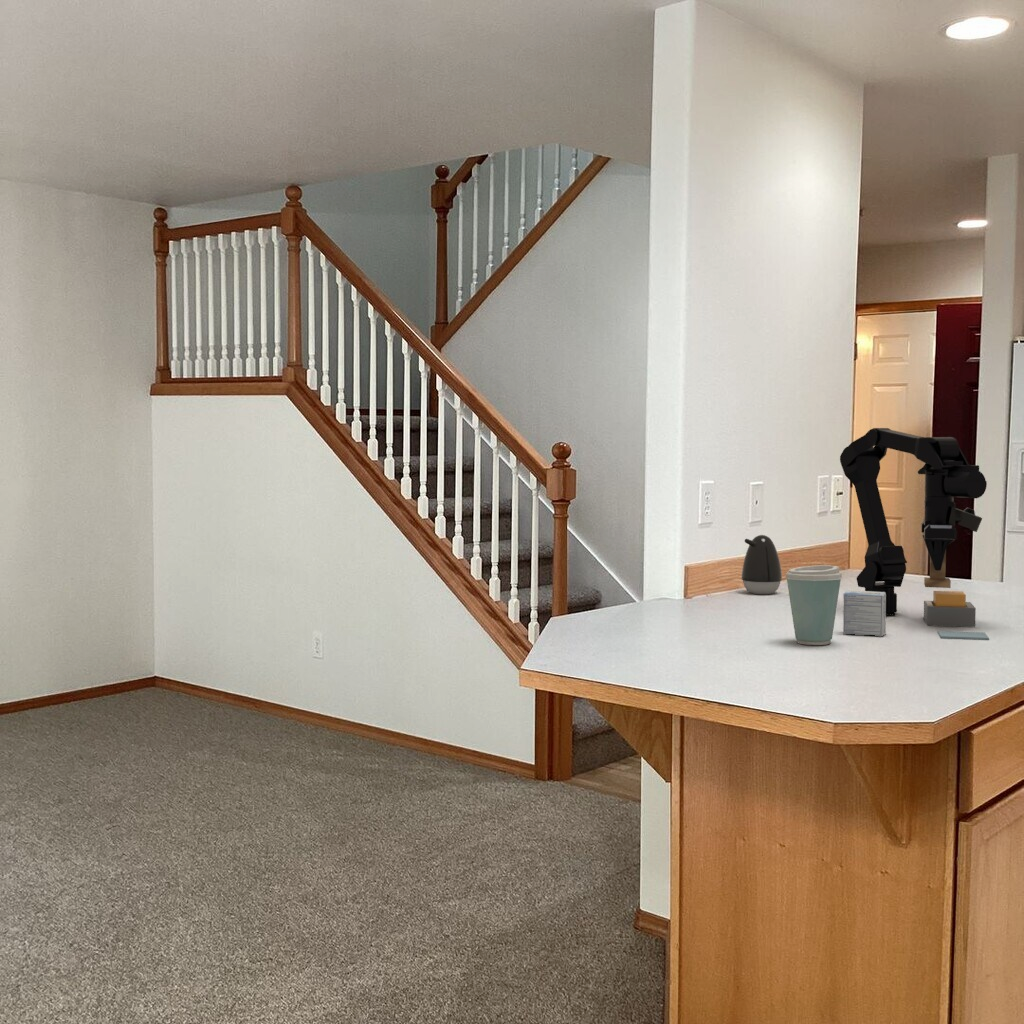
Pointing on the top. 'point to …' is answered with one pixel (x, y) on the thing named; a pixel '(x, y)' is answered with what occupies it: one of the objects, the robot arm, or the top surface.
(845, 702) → the top surface
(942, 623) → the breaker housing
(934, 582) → the press tool
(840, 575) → the disposable coffee cup
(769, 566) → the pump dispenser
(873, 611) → the medicine box
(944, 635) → the rubber mat
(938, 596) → the button
